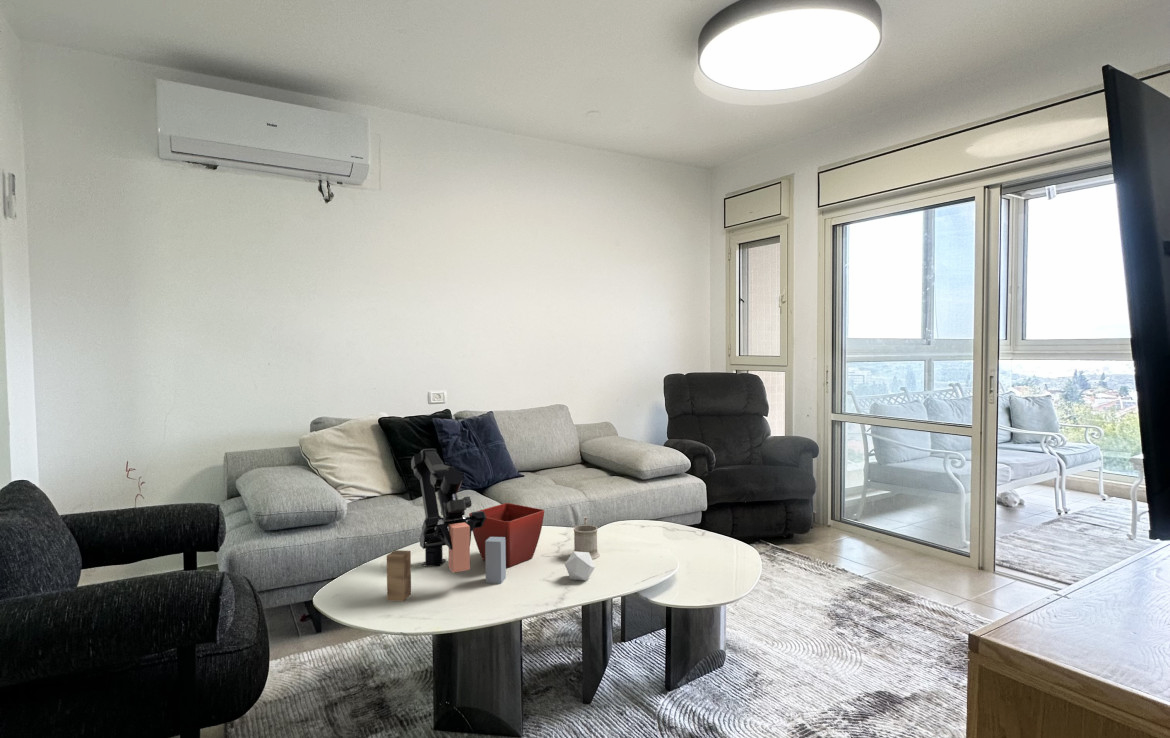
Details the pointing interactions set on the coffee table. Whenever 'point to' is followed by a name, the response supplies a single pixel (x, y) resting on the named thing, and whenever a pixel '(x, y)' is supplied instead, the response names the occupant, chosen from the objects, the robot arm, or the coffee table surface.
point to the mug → (586, 539)
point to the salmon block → (459, 547)
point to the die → (580, 566)
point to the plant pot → (511, 530)
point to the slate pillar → (495, 559)
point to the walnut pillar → (398, 575)
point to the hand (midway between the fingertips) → (460, 547)
